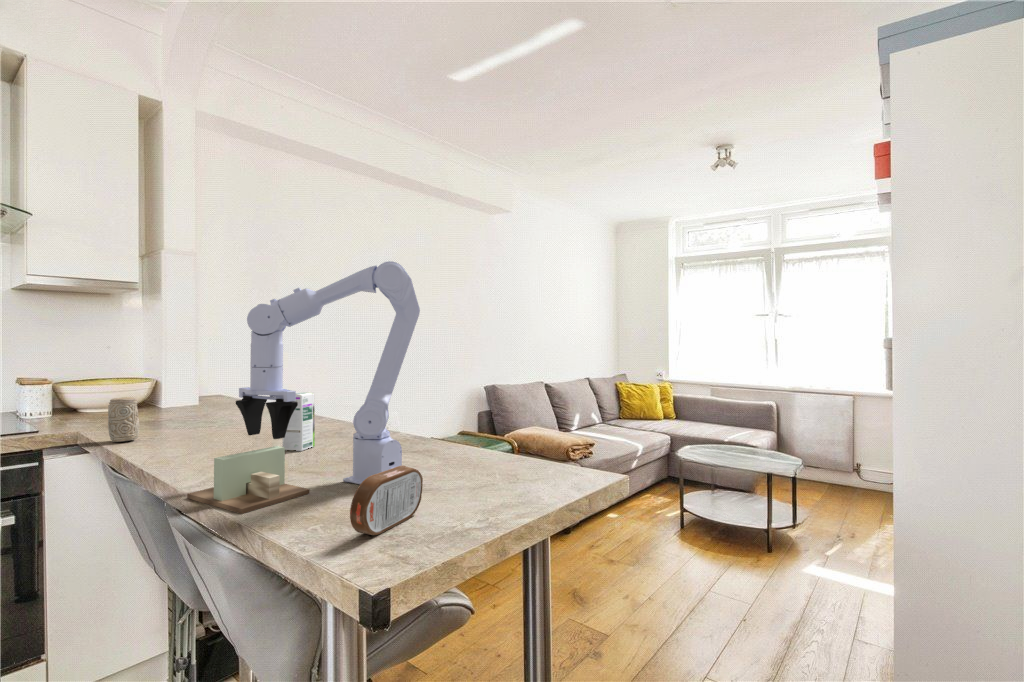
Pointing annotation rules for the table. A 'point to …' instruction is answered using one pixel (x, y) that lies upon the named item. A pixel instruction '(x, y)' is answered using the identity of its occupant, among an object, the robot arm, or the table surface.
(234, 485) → the sage plate
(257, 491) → the slotted base
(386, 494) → the tin
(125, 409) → the carving
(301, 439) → the syrup box
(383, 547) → the table surface
